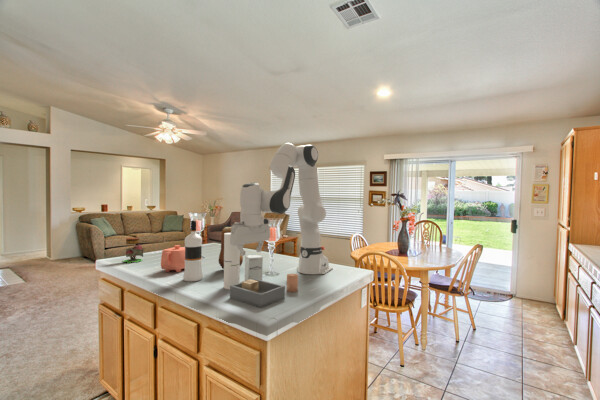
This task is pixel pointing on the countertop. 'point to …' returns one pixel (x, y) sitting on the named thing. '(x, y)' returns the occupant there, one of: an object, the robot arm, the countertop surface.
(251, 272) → the supplement box
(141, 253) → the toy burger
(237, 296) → the tote
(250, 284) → the oak cube
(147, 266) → the countertop surface
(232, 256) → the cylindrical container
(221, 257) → the butternut squash
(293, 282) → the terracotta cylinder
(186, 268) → the vodka
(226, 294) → the countertop surface
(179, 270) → the teapot
